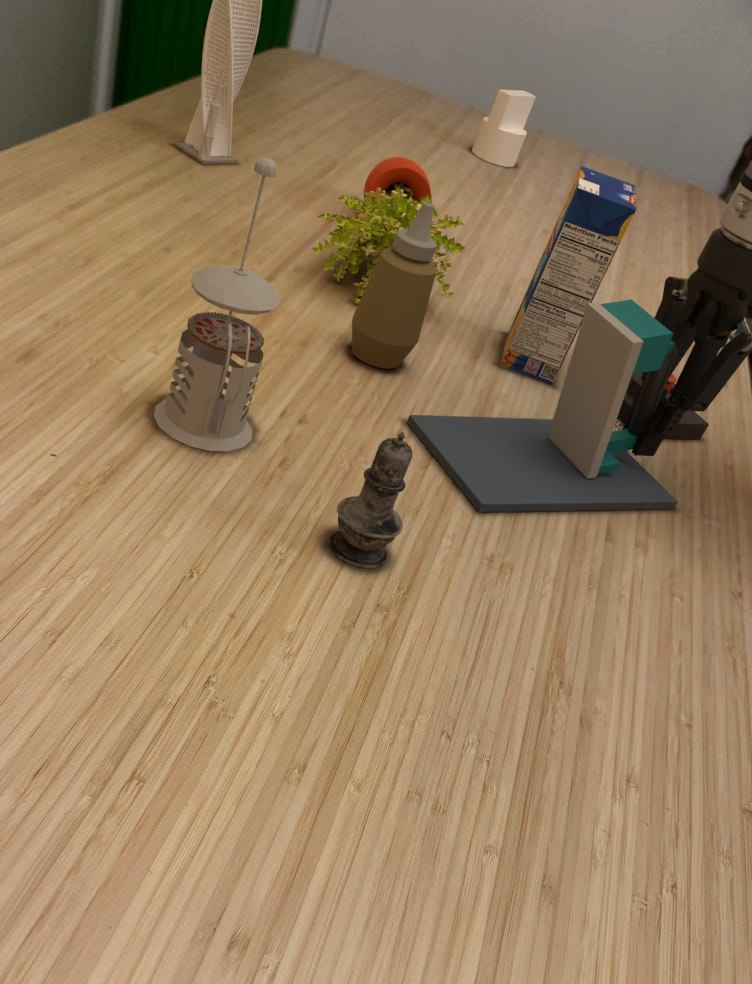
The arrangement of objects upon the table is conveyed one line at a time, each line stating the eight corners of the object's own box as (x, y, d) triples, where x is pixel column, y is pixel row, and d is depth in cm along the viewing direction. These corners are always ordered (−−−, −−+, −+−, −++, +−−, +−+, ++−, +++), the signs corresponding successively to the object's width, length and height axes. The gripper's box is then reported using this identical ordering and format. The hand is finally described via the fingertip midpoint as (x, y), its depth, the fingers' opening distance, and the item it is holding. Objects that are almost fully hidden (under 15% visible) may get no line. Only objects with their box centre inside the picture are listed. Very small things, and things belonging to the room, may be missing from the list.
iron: (633, 342, 98) (714, 329, 101) (587, 302, 104) (665, 291, 106) (587, 479, 110) (661, 464, 113) (547, 437, 115) (619, 423, 118)
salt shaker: (331, 521, 93) (372, 404, 86) (393, 542, 93) (440, 427, 86) (320, 556, 89) (363, 436, 81) (385, 578, 89) (434, 461, 81)
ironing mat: (674, 509, 112) (678, 501, 112) (478, 512, 101) (482, 504, 100) (592, 427, 123) (595, 420, 122) (406, 422, 111) (409, 414, 111)
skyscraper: (168, 141, 161) (207, -69, 143) (208, 141, 166) (249, -61, 148) (202, 163, 157) (246, -49, 140) (241, 163, 162) (288, -42, 145)
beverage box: (500, 366, 129) (578, 188, 115) (507, 334, 138) (581, 165, 124) (551, 385, 129) (636, 209, 115) (556, 352, 137) (635, 185, 123)
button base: (700, 439, 128) (717, 411, 126) (639, 438, 124) (656, 408, 121) (643, 388, 136) (658, 360, 133) (584, 385, 132) (598, 356, 129)
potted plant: (305, 226, 165) (299, 299, 127) (329, 130, 158) (330, 177, 120) (420, 257, 167) (449, 338, 129) (449, 164, 159) (488, 221, 122)
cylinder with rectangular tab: (489, 148, 210) (513, 84, 203) (523, 166, 206) (548, 102, 199) (463, 148, 205) (486, 83, 197) (497, 167, 201) (522, 101, 193)
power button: (675, 395, 127) (682, 382, 126) (653, 394, 126) (660, 381, 125) (657, 379, 129) (664, 367, 128) (636, 378, 128) (643, 365, 127)
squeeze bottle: (381, 380, 117) (437, 224, 106) (328, 347, 120) (377, 191, 109) (421, 368, 123) (478, 217, 111) (370, 335, 126) (420, 186, 114)
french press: (245, 403, 105) (313, 150, 89) (263, 468, 97) (342, 201, 81) (149, 389, 102) (202, 125, 86) (159, 455, 94) (220, 175, 78)
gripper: (676, 203, 104) (572, 408, 118) (778, 273, 94) (650, 486, 109) (729, 212, 107) (621, 411, 122) (832, 280, 97) (701, 487, 112)
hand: (635, 446), depth 115 cm, fingers open, 2 cm apart
